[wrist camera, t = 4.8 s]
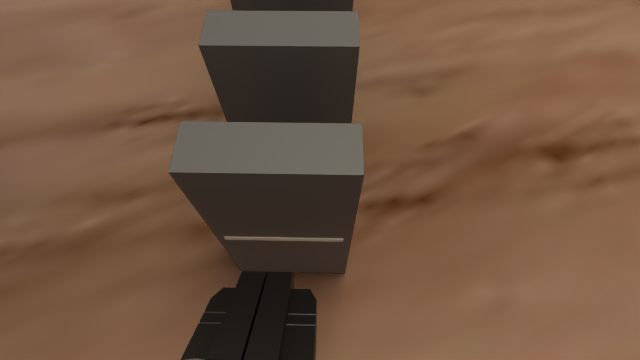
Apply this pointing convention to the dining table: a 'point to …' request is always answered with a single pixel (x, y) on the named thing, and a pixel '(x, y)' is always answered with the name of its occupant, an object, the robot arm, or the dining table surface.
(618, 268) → the dining table surface
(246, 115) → the domino
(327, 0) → the domino
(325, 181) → the domino
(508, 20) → the dining table surface
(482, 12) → the dining table surface
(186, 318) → the dining table surface
